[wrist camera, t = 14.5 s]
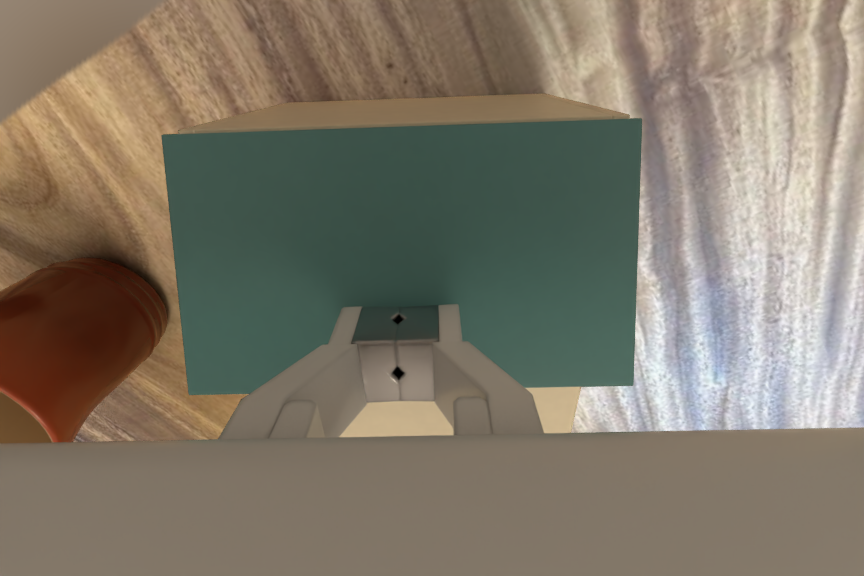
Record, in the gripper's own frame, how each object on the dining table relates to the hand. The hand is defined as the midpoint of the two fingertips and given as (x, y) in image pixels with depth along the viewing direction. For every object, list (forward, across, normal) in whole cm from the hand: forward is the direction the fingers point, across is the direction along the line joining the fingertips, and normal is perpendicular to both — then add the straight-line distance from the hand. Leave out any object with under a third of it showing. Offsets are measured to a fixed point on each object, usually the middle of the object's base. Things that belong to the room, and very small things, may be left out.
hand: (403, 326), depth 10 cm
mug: (+13, +21, +8) cm, 26 cm away
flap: (+2, 0, -1) cm, 2 cm away
